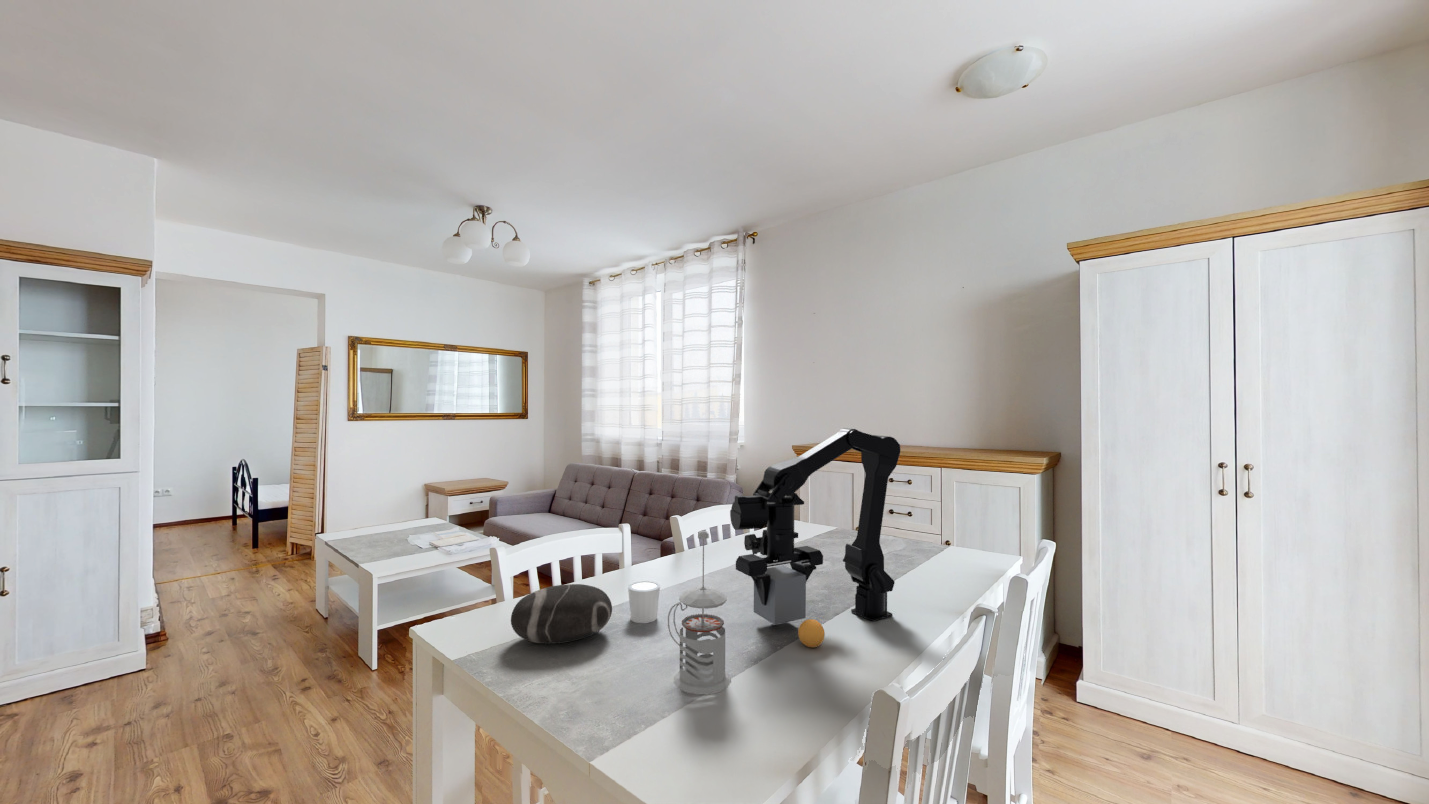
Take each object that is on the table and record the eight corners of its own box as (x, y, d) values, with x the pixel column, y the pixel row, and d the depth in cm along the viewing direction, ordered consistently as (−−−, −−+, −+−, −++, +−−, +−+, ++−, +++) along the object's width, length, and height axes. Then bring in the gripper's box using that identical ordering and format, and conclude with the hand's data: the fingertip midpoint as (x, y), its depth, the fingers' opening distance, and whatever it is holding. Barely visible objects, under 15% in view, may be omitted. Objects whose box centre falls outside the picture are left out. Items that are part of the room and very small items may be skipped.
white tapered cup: (654, 625, 117) (654, 592, 117) (623, 622, 118) (623, 589, 118) (663, 613, 124) (664, 581, 124) (634, 611, 125) (634, 579, 125)
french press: (711, 700, 88) (712, 540, 88) (652, 680, 94) (653, 531, 94) (742, 675, 96) (743, 528, 96) (686, 658, 102) (687, 521, 102)
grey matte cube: (783, 605, 122) (783, 565, 122) (805, 617, 115) (805, 575, 115) (753, 612, 118) (753, 570, 118) (774, 625, 112) (775, 580, 112)
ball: (833, 634, 106) (823, 650, 108) (820, 612, 109) (810, 627, 112) (811, 638, 103) (802, 655, 106) (799, 615, 107) (790, 632, 109)
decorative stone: (513, 662, 100) (513, 606, 100) (508, 632, 113) (508, 582, 113) (619, 644, 108) (620, 592, 108) (603, 618, 121) (603, 571, 121)
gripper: (792, 515, 128) (792, 583, 128) (722, 523, 119) (721, 597, 119) (825, 524, 119) (824, 598, 118) (751, 534, 109) (750, 614, 109)
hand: (780, 601), depth 117 cm, fingers closed on grey matte cube, 8 cm apart
